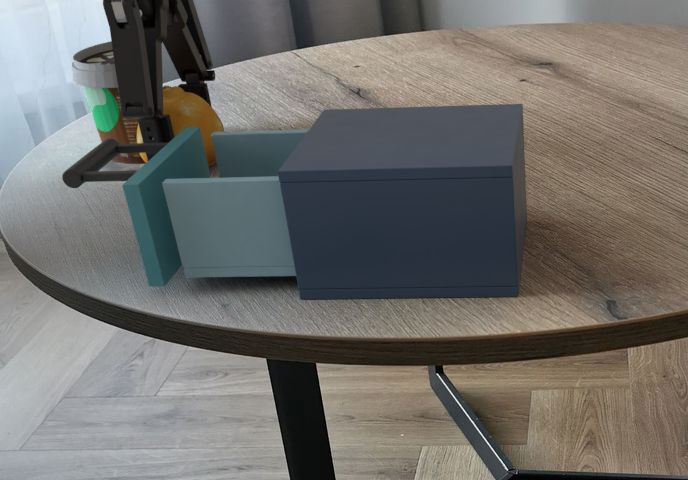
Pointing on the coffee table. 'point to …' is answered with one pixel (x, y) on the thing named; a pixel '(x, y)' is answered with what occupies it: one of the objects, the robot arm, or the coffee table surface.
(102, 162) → the drawer
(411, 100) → the coffee table surface
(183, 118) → the fruit
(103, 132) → the food container
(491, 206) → the cabinet
